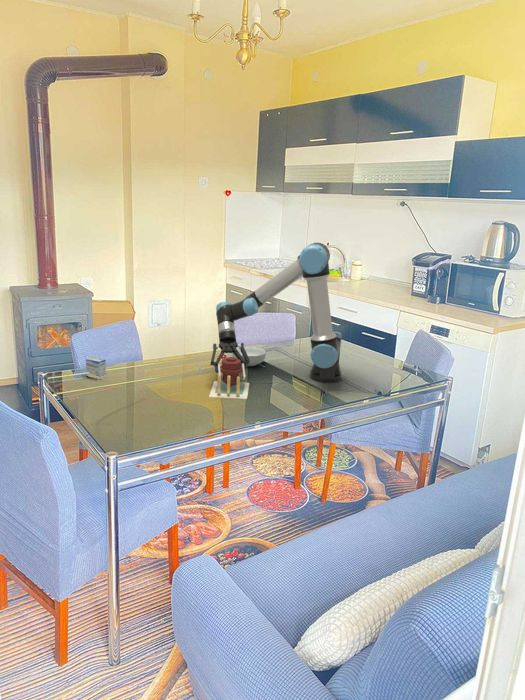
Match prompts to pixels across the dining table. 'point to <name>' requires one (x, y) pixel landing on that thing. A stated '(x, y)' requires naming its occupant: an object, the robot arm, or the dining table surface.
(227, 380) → the pin
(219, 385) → the pin
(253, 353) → the cereal bowl
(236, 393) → the pin
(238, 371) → the mechanical component
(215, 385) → the header board
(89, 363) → the medicine box
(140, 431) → the dining table surface
